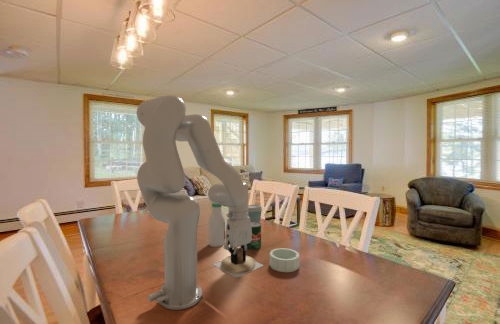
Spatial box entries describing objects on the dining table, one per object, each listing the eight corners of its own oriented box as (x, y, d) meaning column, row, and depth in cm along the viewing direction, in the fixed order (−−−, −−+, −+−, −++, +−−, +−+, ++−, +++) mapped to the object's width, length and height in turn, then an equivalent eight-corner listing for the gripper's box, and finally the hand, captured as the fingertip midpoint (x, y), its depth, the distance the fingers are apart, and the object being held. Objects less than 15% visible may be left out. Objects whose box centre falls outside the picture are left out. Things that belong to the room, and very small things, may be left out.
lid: (236, 276, 88) (236, 260, 88) (214, 264, 98) (214, 249, 98) (262, 265, 97) (262, 250, 97) (240, 254, 107) (240, 240, 106)
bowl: (286, 276, 90) (286, 262, 90) (264, 266, 98) (264, 253, 98) (304, 266, 97) (304, 254, 97) (282, 257, 105) (282, 246, 105)
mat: (235, 279, 88) (235, 277, 88) (212, 265, 98) (212, 264, 98) (264, 266, 97) (264, 265, 97) (240, 255, 107) (240, 254, 107)
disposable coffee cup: (239, 234, 134) (239, 206, 133) (246, 228, 144) (246, 202, 143) (258, 237, 130) (259, 208, 129) (264, 230, 140) (264, 204, 140)
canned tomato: (252, 252, 111) (253, 227, 110) (240, 247, 116) (240, 224, 116) (264, 247, 117) (264, 223, 116) (252, 243, 122) (252, 220, 121)
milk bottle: (222, 248, 115) (222, 204, 114) (206, 247, 117) (206, 204, 116) (227, 242, 123) (227, 201, 122) (212, 241, 124) (211, 200, 123)
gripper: (227, 220, 88) (227, 272, 89) (260, 212, 99) (260, 258, 100) (214, 216, 94) (215, 265, 95) (247, 209, 105) (247, 252, 106)
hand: (238, 261), depth 97 cm, fingers closed on lid, 3 cm apart
